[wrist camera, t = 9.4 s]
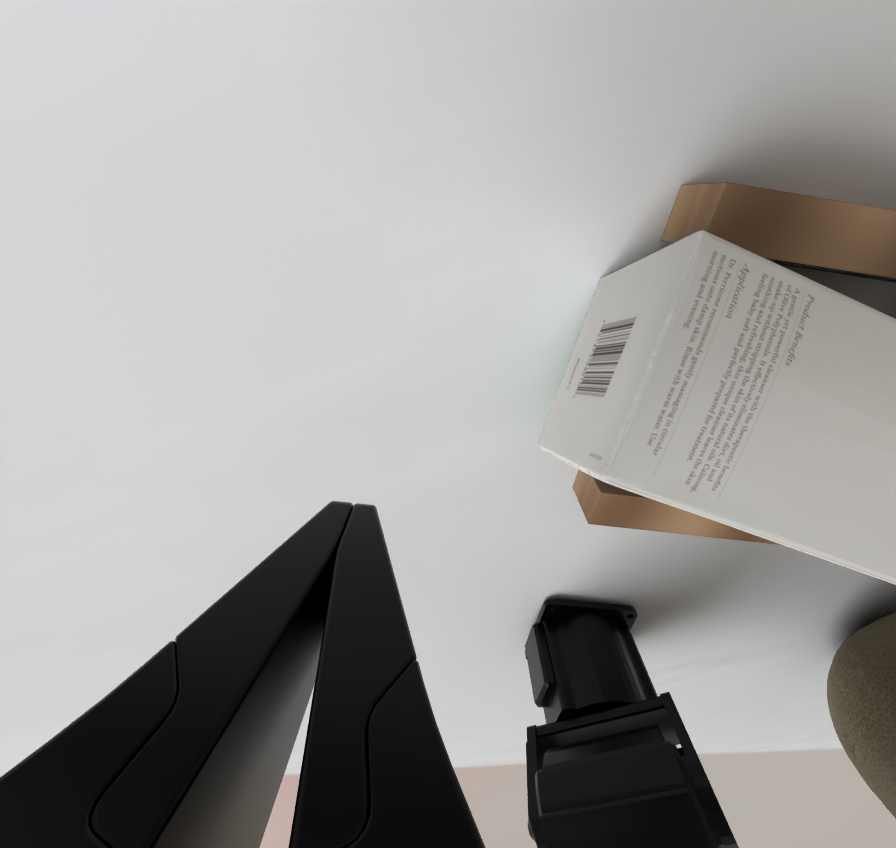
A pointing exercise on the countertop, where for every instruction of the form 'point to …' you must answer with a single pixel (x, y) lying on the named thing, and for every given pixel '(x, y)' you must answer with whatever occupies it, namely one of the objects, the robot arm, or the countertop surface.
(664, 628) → the countertop surface
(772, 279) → the skincare box
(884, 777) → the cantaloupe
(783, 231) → the wooden tray
